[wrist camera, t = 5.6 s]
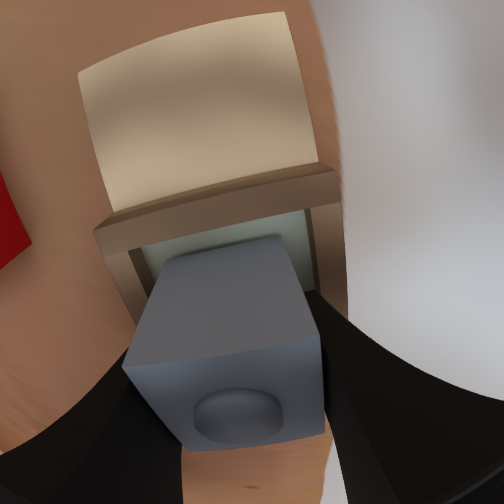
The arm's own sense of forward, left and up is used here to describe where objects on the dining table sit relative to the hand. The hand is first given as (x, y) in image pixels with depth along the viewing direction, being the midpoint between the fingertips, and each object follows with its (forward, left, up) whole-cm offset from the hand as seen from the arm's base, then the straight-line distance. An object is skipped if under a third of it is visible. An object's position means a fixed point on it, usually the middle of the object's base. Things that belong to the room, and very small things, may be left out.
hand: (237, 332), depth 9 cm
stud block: (0, 0, -2) cm, 2 cm away
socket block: (+3, 0, -4) cm, 5 cm away
